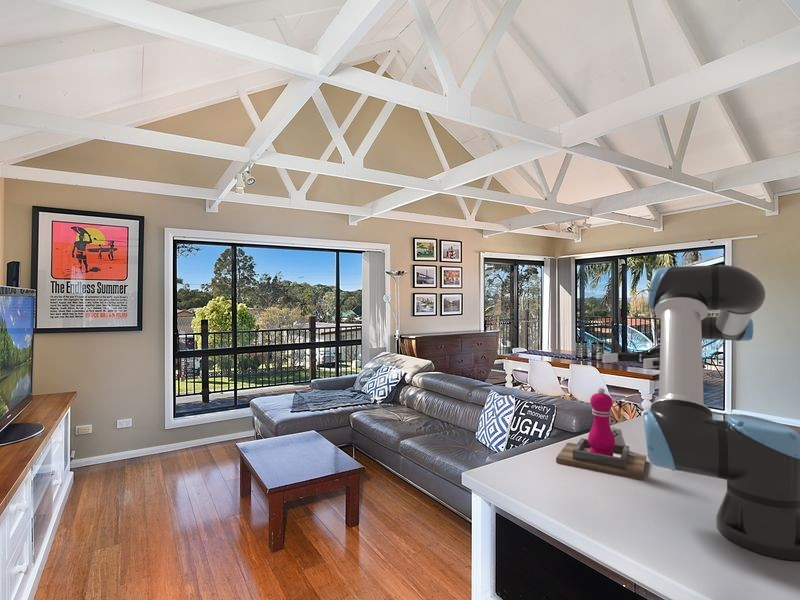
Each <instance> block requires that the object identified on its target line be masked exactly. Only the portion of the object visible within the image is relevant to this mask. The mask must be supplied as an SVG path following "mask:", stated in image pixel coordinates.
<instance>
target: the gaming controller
mask: <svg viewBox="0 0 800 600" xmlns="http://www.w3.org/2000/svg"><path fill="white" fill-rule="evenodd" d="M610 428H611V431H612V433H613V435H614V439H615V444H620V445H626V442H625V439H624V436H623V432H622V429H621V427H620V426H618V427H616V426H610Z"/></svg>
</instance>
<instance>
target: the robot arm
mask: <svg viewBox="0 0 800 600" xmlns="http://www.w3.org/2000/svg"><path fill="white" fill-rule="evenodd" d="M649 283H650V284H649V291H648V293H649V294H648V307H649V309H650V310H653V311H654V314H655V316H656V317H657V318H658V319H659V320H660V339H659V340H660V346H654V347H652V348H651V349H649V350H648V351H645V352H609V353H602V354H601V355H602V359H601V360H602V363H603V364H606V363H613V364H617V363H618V362H632V363H633V362H634V363H636V364H643V365H642V367H643V368H642V369H655V370H658V373H659V375H658V376H659V378H658V379H659V381H658V399H655V400H654V401H653V402H652V403H651V404H650V410H644V411H643V413H642V416H643V423H644V424H643V425H644V433H645V443H646V450H647V456H648V457H647V458H648V460H649V461H650V463H651V464H652V465H654V466H656V467H660V468H664V469H668V470H671V471H673V472H675V471H677V472H683V473H688V474H694V475H699V476H705V477H710V478H717V479H721V480H725V481H726V493H725V494H724V497H723V499H722V502H721V504H720V506H719V508H718V510H717V513H716V519H715V520H716V525H715V526H716V529H717V531H718V532H719V533H720V535H722V536H724V538H726V539H727V540H729V541H731V542H733V543H734V544H735V545H739V546H741V547H742V548H744V549H747V550H749V551H753V552H755V553H758V554H761V555H765V556H768V557H772V558H776V559H781V560H788V561H798V562H799V561H800V433H799V432H797V431H796V430H795V429H793V428H791V427H790V426H787V425H784V424H781V423H779V422H776V421H773V420H770V419H766V418H762V417H758V416H752V415H746V414H737V413H730V414H728V415H726V418H725V420H720V419H719V420H718V419H713V418H714V417H713V416H714V415H713V411H712V409H710V408H709V407H708V406H707V405H706V404H705V403H704V374H703V372H704V370H703V343H702V341H703V340H719V341H736V342H740V341H741V342H743V341H744V342H746V341H751V340H752V339H753V336H754V322H753V320H752V318H751V317H752V315H753V314H754V313H755V312H756V311H759V309H760V308H761V307H762V306H763V304H764V302H765V299H766V291H765V290H766V289H765V287H764V285H763V283H762V282H761V281H760V280H759V278H758V277H756V275H754V274H752V272H749V271H747V270H745V269H743V268H740V267H737V266H733V265H727V264H717V265H716V264H715V265H688V266H685V265H684V266H675V265H671V266H664V267H659V268H656V269H655V270H654V271H653V273H652V275H651V279H650V282H649ZM709 311H718V314H717V316H708V314H709ZM640 360H641V361H640Z"/></svg>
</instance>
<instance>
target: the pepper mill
mask: <svg viewBox="0 0 800 600" xmlns="http://www.w3.org/2000/svg"><path fill="white" fill-rule="evenodd" d="M589 403H590V405H591V407H592V410H591V411H592V412H591V414H592V415H593V423H592V426H591V428H590V430H589V432H588V436H587V439H588V442H589V444H590V445H591V446H592V447H591V448H590V452H592V453H597V454H603V455H608V456H613V451H612V450H611V449H612V448H613V447H614V446H615V439H614V435H613V433H612V431H611V428H610V427H611V425H610V416H611V413H612V412H611V408H612V407H613V406H614V405H613V399H612V397H611V396H610V395H609V394H607V393H605V389H604V388H603V387H600V388H598V389H597V392H596V393H594V394H592V395H591V397H590V401H589Z"/></svg>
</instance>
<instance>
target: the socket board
mask: <svg viewBox="0 0 800 600" xmlns="http://www.w3.org/2000/svg"><path fill="white" fill-rule="evenodd" d="M591 447H592V446H591V445H590V444H589V442H588V438H583V437H581V438H580V439H579V440H578V441H577V443H573V442H567V443H565V445H564V446H563V448H562V449H561V451H560V452H559V453H558V454H557V456H555V462H556V463H557V464H562V465H567V466H572V467H577V468H581V469H586V468H587V470H591V469H592V470H591V471H597V472H602V473H606V474H612V475H617V476H621V477H627V478H632V479H637V480H641V481H643V479H644V474H645V469H646V462H647V456H646V455H642V454H636V453H630V445H626V444H625V445H620V444H615V446H614V447H613V448H612V449H611V450H612V451H613V456H608V455H603V454H597V453H592V452H590V448H591Z"/></svg>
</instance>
